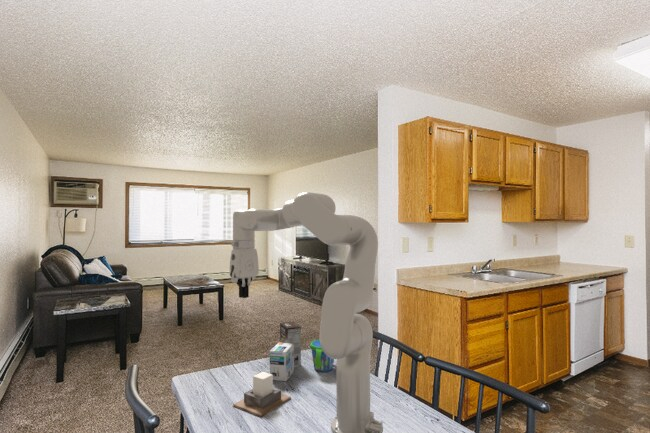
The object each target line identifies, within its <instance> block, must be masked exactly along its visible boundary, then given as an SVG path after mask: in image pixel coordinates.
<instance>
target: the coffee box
mask: <svg viewBox="0 0 650 433" xmlns="http://www.w3.org/2000/svg"><path fill="white" fill-rule="evenodd" d="M279 333H280V334H279V339H280V341H279V343H291V344H294V368H296V367H300V366H302V326H300V325H299V324H298V323H296V322H295V321H284V322H283V321H282V322H280V323H279Z"/></svg>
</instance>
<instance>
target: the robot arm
mask: <svg viewBox="0 0 650 433" xmlns="http://www.w3.org/2000/svg"><path fill="white" fill-rule="evenodd" d="M301 226H303V227H304V228H306V229H307V230H308V231H309V232H310V233H312V235H314V236H315V238H317V239H318V240H320V241H321V242H322V243H323V244H326V245H328V246H332V247H337V246H346V245H348V246H349V250H348V253H347V255H346V258H345V261H344V262H345V263H344V272H343V277H342V279H341V280H338V281H336V282H334V283H332V284H330V285H329V287H327V288H326V290H325V293H324V296H323V299H322V306H321V315H320V316H321V317H320V324H319V335H318V336H319V339H320V345H321V348H322V350H323V352H324V353H325V354H326V355H327V356H328V357H330V358H332V359H334V360H336V370H335V371H336V372H335V374H336V376H335V377H336V384H335V385H336V386H335V387H336V388H335V389H336V416H335V417H334V418H333V419H332V420H331V422H330V429H331V432H332V433H383V431H384V426H383V421H382V420H377V419H376V418H375V414H374V412H373V411H371V353H372V347H373V346H372V345H373V336H374V334H373V332H374V331H373V326H372V325H371V324H372V323H371V322H370V320H369V319H368V318H367V317H366V316H364V315H363V314H360V313H361V312H364V311H365V310H366V309H368V308H369V307H370V305H371V304H372V301H373V294H374V292H373V291H374V285H375V284H374V282H375V274H376V264H377V263H376V262H377V255H378V247H379V242H378V239H379V238H378V236H377V231H376V230H375V228H374V226H373V225H372V224H371V223H370V222H369V221H367V219H365V218H363V217H361V216H357V215H353V214H352V215H351V214H350V215H349V214H336V203H335V201H334V200H333V198H332V197H331V196H329V195H327V194H324V193H317V192H308V191H306V192H302V193H299V194H298V195H297V196H296V197H295V198H294V199H290V200H287V201H286V202H285V203H283V206H282V208H276V209H269V208H266V209H265V208H250V209H247V210H246V209H245V210H244V209H243V210H241V209H238V210H235V211H233V213H232V242H231V243H230V244H231V245H230V246H231V247H232V249H231V253H230V259H229V277H230V282H232V283H236V285H237V286H238V298H241V299H246V298H249V297H250V296H249V295H250V294H249V293H250V292H249V288H250V286H251V282H252V281H254V280H255V279H256V278H257V276H259V256H258V250H257V248H256V247H255V246H256V240H255V237H256V235H255V233H256V232H262V231H263V232H265V231H266V232H269V231H270V232H271V231H273V232H274V231H280V230H286V229H287V230H288V229H290V228H295V227H301Z"/></svg>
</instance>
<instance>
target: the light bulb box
mask: <svg viewBox="0 0 650 433" xmlns="http://www.w3.org/2000/svg"><path fill="white" fill-rule="evenodd" d="M294 371H295V367H294V344H291V343H280V342H277V344H276V345H274V346H273V347H272V348H271V349H270V350H269V374H272V375H273V381H279V382H287V380H288V379H289V378H290V376H291V375H292V374H293V373H294Z"/></svg>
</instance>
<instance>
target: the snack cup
mask: <svg viewBox="0 0 650 433" xmlns="http://www.w3.org/2000/svg"><path fill="white" fill-rule="evenodd" d="M309 347H310V350H311V355H312V356H311V357H312V361H313V362H312V363H313V367H314V370H316V371H318V372H321V373H322V372H330V371H331V370H333V367H334V362H335V359H332V358H330V357H328V356H327V355H326V354H325V353H324V352H323V350H322V348H321V345H320V338H319V339H315V340H312V341H311V342H310V345H309Z"/></svg>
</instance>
